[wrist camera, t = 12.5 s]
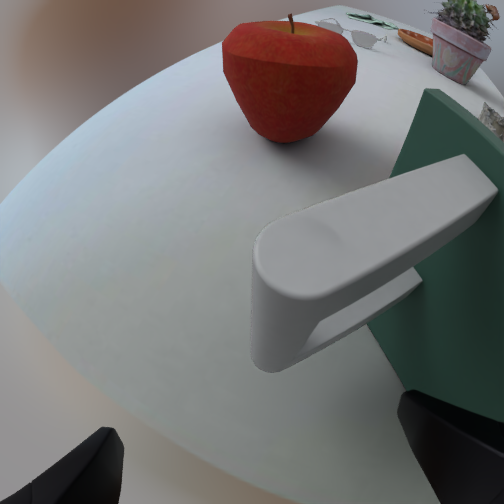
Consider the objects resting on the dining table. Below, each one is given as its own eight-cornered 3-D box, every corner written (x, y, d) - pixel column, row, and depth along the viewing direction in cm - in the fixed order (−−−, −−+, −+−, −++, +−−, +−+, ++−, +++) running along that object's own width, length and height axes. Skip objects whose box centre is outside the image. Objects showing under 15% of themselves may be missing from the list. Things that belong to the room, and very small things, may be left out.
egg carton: (514, 164, 27) (526, 146, 24) (478, 137, 30) (488, 117, 26) (508, 138, 32) (516, 121, 29) (476, 115, 34) (484, 98, 31)
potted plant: (403, 49, 52) (419, -28, 31) (463, 74, 50) (484, 5, 29) (421, 71, 43) (444, -25, 22) (490, 103, 41) (519, 20, 20)
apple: (304, 191, 22) (330, 37, 11) (200, 141, 25) (187, 17, 15) (355, 133, 26) (381, 26, 16) (269, 98, 30) (273, 2, 20)
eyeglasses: (313, 33, 50) (314, 19, 47) (336, 26, 59) (337, 14, 55) (377, 52, 46) (381, 37, 43) (388, 42, 54) (391, 30, 51)
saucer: (383, 35, 60) (385, 25, 57) (416, 39, 67) (418, 31, 64) (447, 68, 50) (451, 57, 47) (469, 69, 57) (472, 61, 54)
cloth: (404, 31, 75) (405, 26, 73) (379, 28, 67) (380, 22, 65) (362, 15, 83) (363, 11, 81) (332, 13, 76) (333, 8, 73)
